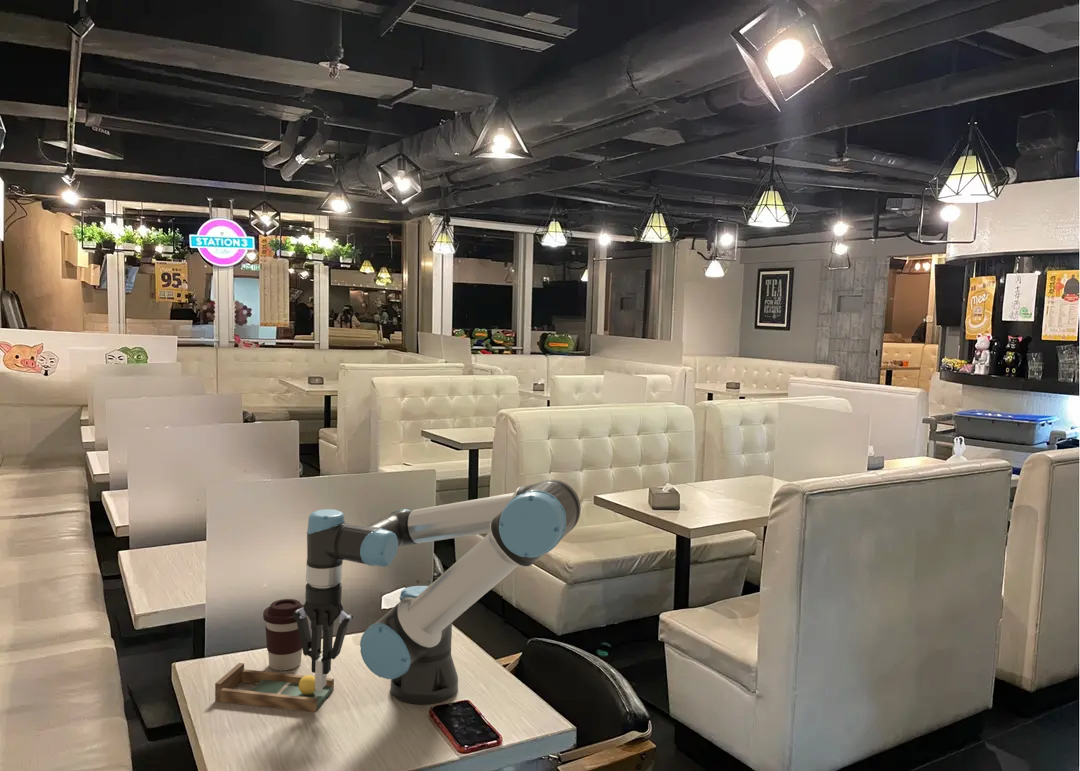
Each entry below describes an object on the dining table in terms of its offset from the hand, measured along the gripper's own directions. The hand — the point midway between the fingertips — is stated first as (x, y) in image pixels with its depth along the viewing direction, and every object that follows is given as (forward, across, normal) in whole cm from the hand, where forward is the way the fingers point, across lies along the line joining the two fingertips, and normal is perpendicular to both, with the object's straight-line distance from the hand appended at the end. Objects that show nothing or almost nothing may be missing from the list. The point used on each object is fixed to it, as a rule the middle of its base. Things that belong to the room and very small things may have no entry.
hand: (320, 686), depth 171 cm
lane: (+3, +10, 0) cm, 10 cm away
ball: (0, +3, 0) cm, 3 cm away
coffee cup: (+4, +15, -14) cm, 21 cm away
